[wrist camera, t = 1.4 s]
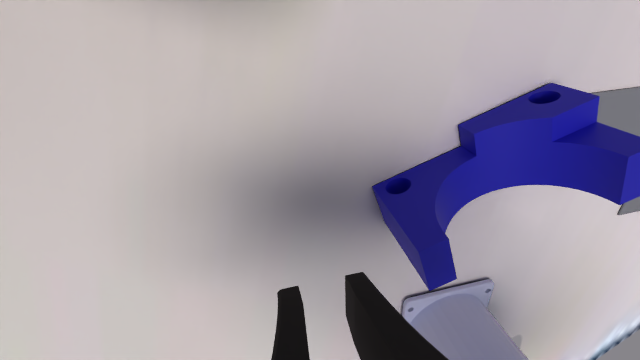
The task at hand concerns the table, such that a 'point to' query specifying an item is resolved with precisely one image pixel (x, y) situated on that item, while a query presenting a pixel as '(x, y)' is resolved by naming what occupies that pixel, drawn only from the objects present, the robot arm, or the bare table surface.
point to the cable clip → (508, 169)
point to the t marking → (621, 121)
